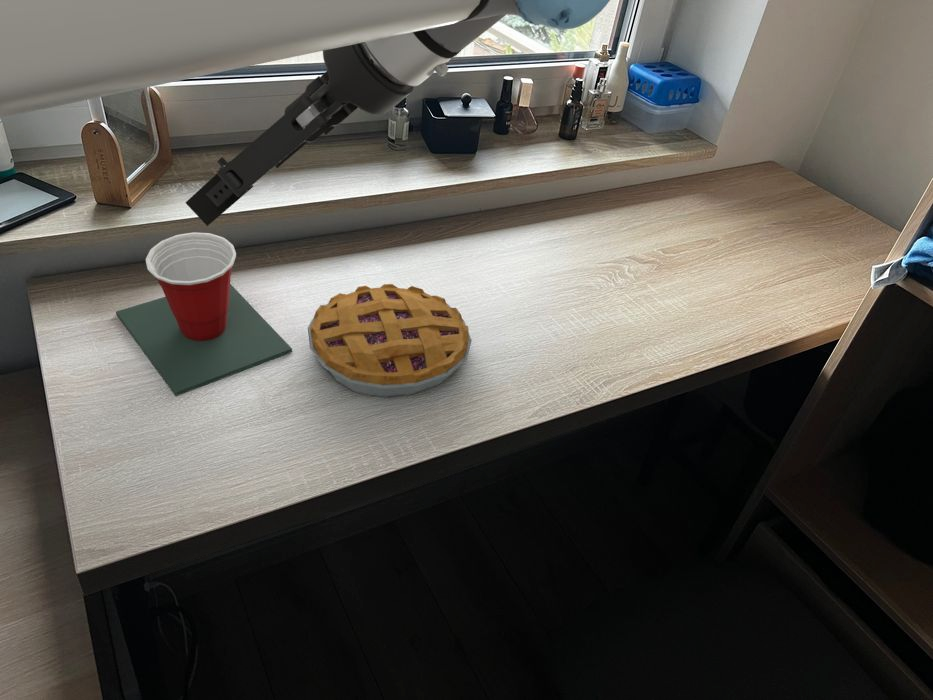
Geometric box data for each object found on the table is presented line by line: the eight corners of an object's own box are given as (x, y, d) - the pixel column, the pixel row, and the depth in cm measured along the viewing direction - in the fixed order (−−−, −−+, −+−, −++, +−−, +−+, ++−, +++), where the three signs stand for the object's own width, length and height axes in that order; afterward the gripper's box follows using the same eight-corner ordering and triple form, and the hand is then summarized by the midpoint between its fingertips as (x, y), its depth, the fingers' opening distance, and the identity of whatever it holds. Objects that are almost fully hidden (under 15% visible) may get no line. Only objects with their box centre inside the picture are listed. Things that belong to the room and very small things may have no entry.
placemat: (175, 396, 89) (174, 392, 88) (116, 314, 100) (115, 311, 99) (292, 352, 97) (292, 348, 97) (225, 281, 109) (225, 278, 108)
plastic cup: (144, 346, 94) (127, 268, 87) (184, 300, 103) (171, 226, 95) (224, 361, 94) (213, 283, 86) (257, 314, 102) (249, 240, 95)
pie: (434, 296, 111) (437, 268, 108) (494, 386, 96) (498, 357, 93) (292, 318, 103) (290, 289, 100) (332, 421, 88) (331, 390, 85)
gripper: (359, 142, 50) (194, 275, 62) (456, 50, 70) (316, 164, 81) (285, 50, 48) (127, 206, 59) (407, -19, 67) (270, 109, 79)
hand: (236, 182), depth 70 cm, fingers open, 13 cm apart
